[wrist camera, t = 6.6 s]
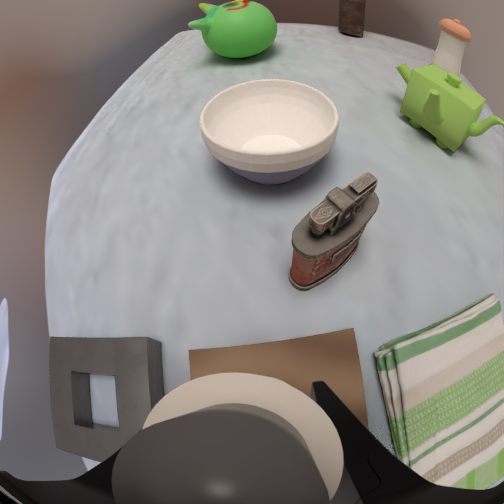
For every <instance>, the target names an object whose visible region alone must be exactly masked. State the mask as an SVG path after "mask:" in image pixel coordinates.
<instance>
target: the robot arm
mask: <svg viewBox="0 0 504 504" xmlns="http://www.w3.org/2000/svg"><path fill="white" fill-rule="evenodd" d="M311 399H312V400H313V401H314V402H316V403H317V404H318V405H319V406H320V407H321V408H322V409H323V410H324V412H325V413H326V414H327V416H328V417H329V418H330V419H331V421H332V423H333V425H334V426H335V428H336V430H337V432H338V435H339V438H340V440H341V444H342V449H343V461H344V464H343V472H342V477H341V480H340V484H339V486H338V488H337V491H336V493H335V495H334V496H333V498H332V499H331V501H330V504H504V481H503V482H501V483H500V484H499V485H497V486H495V487H493V488H490V489H485V490H476V489H465V488H456V487H448V486H442V485H437V484H434V483H432V482H430V481H428V480H426V479H425V478H423V477H422V476H420V475H419V474H418V473H416V472H415V471H413V470H412V469H411V468H409V467H408V466H407V465H405V464H404V463H403V462H401V461H400V460H399V459H398V458H397V457H395V456H394V455H393V454H392V453H391V452H390V451H389V450H388V449H386V448H385V447H384V446H383V445H382V444H381V442H380V441H379V440H378V439H376V437H375V436H374V435H373V434H372V433H371V432H370V431H369V430H368V429H367V428H366V427H365V426H364V425H363V423H362V422H361V421H360V420H359V419H358V418H357V417H356V416H355V415H354V414H353V413H352V412H351V411H350V409H349V408H348V407H347V406H346V405H345V404H344V403H343V402H342V401H341V400H340V399H339V397H338V396H337V395H336V394H335V393H334V392H333V391H332V390H331V389H330V387H329V386H328V385H327V384H326V383H325V382H324V381H314V382H312V385H311ZM142 429H143V428H142ZM142 429H141V430H142ZM141 430H140V431H141ZM140 431H139V432H140ZM122 447H123V446H122ZM122 447H121V448H120V449H119V450H118V451H116V452H115V453H114V454H113V455H111V456H110V457H109V458H107V459H106V460H104V461H103V462H102V463H100V464H99V465H97V466H95V467H94V468H92V469H91V470H89V471H88V472H86V473H85V474H83V475H81V476H79V477H77V478H75V479H71V480H61V481H24V480H20V479H17V478H15V477H13V476H12V475H11V474H9V473H8V472H7V471H0V485H1V486H2V487H3V488H4V489H5V490H6V491H8V492H9V493H10V494H11V495H12V496H14V497H15V498H16V499H17V500H19V501H20V502H21V503H23V504H116V502H115V500H114V495H113V491H112V471H113V466H114V463H115V460H116V458H117V456H118V454H119V452H120V450H121V449H122ZM0 504H19V503H17V502H16V501H14V500H13V499H12V498H10V497H9V496H8V495H6V494H5V493H4V492H2V491H1V490H0Z"/></svg>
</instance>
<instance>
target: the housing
mask: <svg viewBox="0 0 504 504" xmlns="http://www.w3.org/2000/svg"><path fill="white" fill-rule="evenodd" d="M89 374H98V375H111V376H115V385H116V400H117V411H118V421H119V428H117V427H111V426H105V425H100V424H95V423H93V422H92V412H91V401H90V384H89ZM50 396H51V409H52V418H53V427H54V435H55V440H56V447H57V448H58V449H61V450H64V451H66V452H69V453H72V454H75V455H78V456H82V457H85V458H88V459H92V460H95V461H99V462H103V461H104V460H106V459H107V458H109V457H110V456H111V455H113V454H114V453H115V452H116V451H118V450H119V449H120V448H121V447H122V446H124V445H125V443H126V442H127V441H128V440H129V439H131V438H132V437H133V436H134V435H135V434H137V433H138V432H139V431H140V430H141V429H142V428H143V426H144V423H145V421H146V419H147V417H148V415H149V413H150V412H151V411H152V409H153V408H154V407H155V405H156V404H157V403H158V402H159V401H160V400H161V399H162V398H163V397H164V387H163V372H162V354H161V342H159V341H156V340H154V339H151V338H149V337H125V338H75V337H50Z"/></svg>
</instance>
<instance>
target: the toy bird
mask: <svg viewBox="0 0 504 504" xmlns="http://www.w3.org/2000/svg"><path fill="white" fill-rule="evenodd" d="M199 8H201V9H202V10H203V12H205V13H206V14H207V16H206V17H205V18H203V19H199V20H195V21H192V22H190V23H189V24H188V26H189V27H190V28H193V29H197V30H201V31H202V37H203V39H204V42H205V43H206V45H207V46H208V47H209V48H210V49H211V50H212V51H213V52H215V53H217V54H219V55H221V56H224V57H229V58H244V57H249V56H253V55H256V54H258V53H260V52H262V51H264V50H265V49H267V48H268V47H269V46H270V45H271V44H272V43H273V41H274V39H275V37H276V33H277V25H276V21H275V19H274V17H273V15H272V14H271V12H270V11H269V10H268V9H267V8H266V7H264V6H263V5H261V4H259V3H256V2H252V1H247V0H235V1H230V2H226V3H224V4H222V5H220V6H215V5H210V4H204V3H201V4H199Z"/></svg>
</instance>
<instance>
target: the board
mask: <svg viewBox="0 0 504 504" xmlns="http://www.w3.org/2000/svg"><path fill="white" fill-rule="evenodd" d="M189 361H190V374H191V380H193V379H196V378H200V377H203V376H207V375H212V374H218V373H234V372H236V373H250V374H256V375H262V376H268V377H274V378H277V379H280V380H282V381H284V382H285V383H287V384H289V385H290V386H292V387H294V388H296V389H298V390H299V391H301V392H303V393H304V394H305V395H307V396H308V397H309V398H311V385H312V382H314V381H324V382H325V383H326V384H327V385H328V386H329V387H330V389H331V390H332V391H333V392H334V393H335V394H336V395H337V396H338V397H339V399H340V400H341V401H342V402H343V403H344V404H345V405H346V406H347V407H348V408H349V409H350V411H351V412H352V413H353V414H354V415H355V416H356V417H357V418H358V419H359V420H360V421H361V422H362V423H363V425H364V426H365V427H366V428H367V429H368V420H367V411H366V402H365V395H364V387H363V380H362V374H361V367H360V361H359V355H358V349H357V344H356V338H355V333H354V328H351V329H346V330H341V331H336V332H331V333H325V334H320V335H314V336H308V337H302V338H296V339H290V340H283V341H276V342H269V343H261V344H253V345H244V346H234V347H224V348H212V349H199V350H189ZM368 430H369V429H368Z"/></svg>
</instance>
